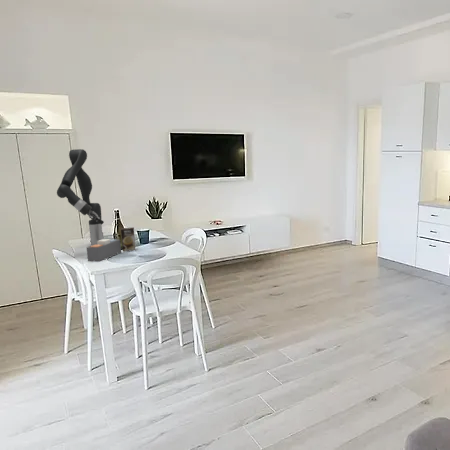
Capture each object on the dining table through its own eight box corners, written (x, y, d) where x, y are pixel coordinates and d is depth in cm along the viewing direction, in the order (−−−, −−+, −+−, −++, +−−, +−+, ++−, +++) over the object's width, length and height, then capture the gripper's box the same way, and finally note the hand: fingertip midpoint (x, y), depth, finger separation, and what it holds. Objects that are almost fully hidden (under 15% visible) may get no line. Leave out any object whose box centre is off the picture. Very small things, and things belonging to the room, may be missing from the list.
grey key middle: (103, 243, 269) (102, 239, 269) (110, 243, 267) (109, 239, 267) (97, 245, 264) (97, 241, 263) (105, 245, 262) (104, 241, 261)
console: (110, 251, 280) (109, 239, 278) (121, 252, 277) (120, 239, 275) (88, 260, 257) (86, 247, 255) (99, 261, 254) (98, 248, 252)
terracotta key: (96, 248, 262) (95, 244, 262) (103, 249, 260) (103, 244, 260) (90, 250, 256) (89, 246, 256) (97, 251, 255) (97, 246, 254)
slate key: (110, 243, 277) (109, 239, 276) (117, 243, 275) (116, 239, 274) (105, 245, 271) (104, 241, 271) (112, 245, 269) (111, 241, 269)
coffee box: (122, 251, 278) (120, 229, 276) (123, 249, 285) (121, 228, 282) (135, 250, 280) (133, 228, 277) (135, 248, 286) (133, 226, 283)
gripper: (84, 204, 260) (104, 220, 264) (88, 201, 273) (108, 217, 277) (76, 212, 260) (97, 229, 264) (81, 209, 273) (101, 225, 277)
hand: (102, 223), depth 270 cm, fingers closed
